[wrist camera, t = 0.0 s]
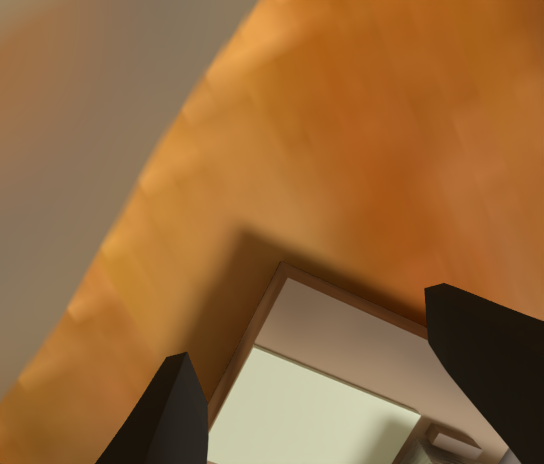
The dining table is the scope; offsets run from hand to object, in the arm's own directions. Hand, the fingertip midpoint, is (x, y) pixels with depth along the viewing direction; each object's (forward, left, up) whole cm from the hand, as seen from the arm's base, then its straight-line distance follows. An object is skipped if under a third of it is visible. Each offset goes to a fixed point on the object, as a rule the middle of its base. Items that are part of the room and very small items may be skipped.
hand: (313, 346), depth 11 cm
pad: (-8, -6, -8) cm, 12 cm away
